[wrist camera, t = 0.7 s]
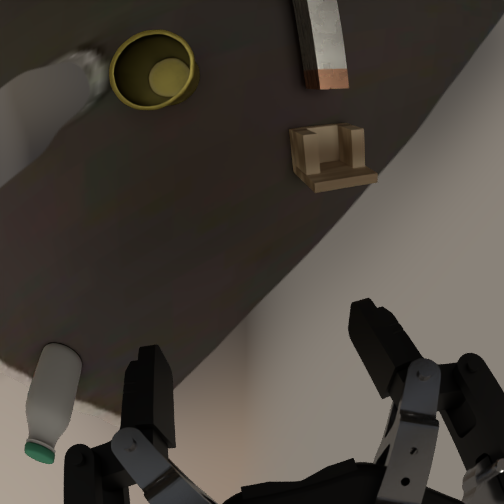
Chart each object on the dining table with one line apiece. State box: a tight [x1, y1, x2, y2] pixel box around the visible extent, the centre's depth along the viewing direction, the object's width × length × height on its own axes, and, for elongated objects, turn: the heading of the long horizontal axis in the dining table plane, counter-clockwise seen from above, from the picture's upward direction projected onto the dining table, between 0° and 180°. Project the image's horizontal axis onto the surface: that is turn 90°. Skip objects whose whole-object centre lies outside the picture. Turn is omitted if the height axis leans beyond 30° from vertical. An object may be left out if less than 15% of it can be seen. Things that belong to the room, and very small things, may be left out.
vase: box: [109, 30, 200, 110], centre depth 21 cm, size 6×6×14 cm
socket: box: [289, 123, 378, 193], centre depth 31 cm, size 5×7×7 cm
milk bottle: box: [25, 343, 82, 464], centre depth 35 cm, size 8×8×20 cm
